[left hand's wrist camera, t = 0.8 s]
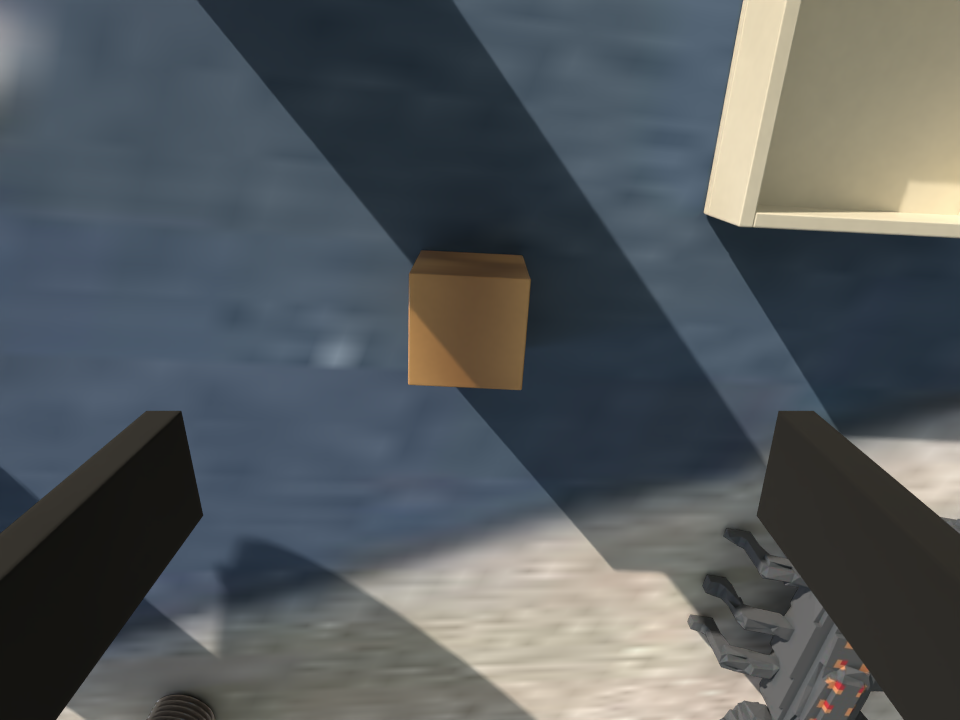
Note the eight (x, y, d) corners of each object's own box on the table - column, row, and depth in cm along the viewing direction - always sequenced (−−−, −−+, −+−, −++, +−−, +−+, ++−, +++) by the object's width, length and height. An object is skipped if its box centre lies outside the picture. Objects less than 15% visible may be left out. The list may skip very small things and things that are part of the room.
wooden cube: (419, 346, 30) (408, 385, 26) (420, 250, 28) (408, 273, 24) (515, 350, 30) (521, 390, 26) (522, 255, 28) (531, 279, 24)
